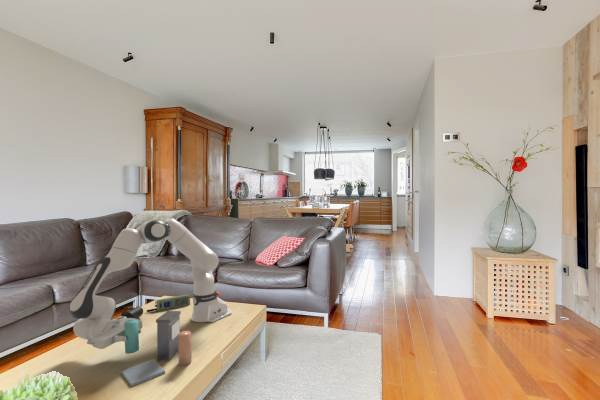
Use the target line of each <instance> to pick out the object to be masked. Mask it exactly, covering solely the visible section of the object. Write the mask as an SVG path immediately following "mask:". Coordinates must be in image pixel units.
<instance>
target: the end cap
mask: <svg viewBox="0 0 600 400" xmlns="http://www.w3.org/2000/svg"><path fill="white" fill-rule="evenodd" d="M143 314H144V309H143V307H141V306H140V305H137V306H136V307H129V308H128V309H127V310H124V311H122V312H121V314H120V317H127V318H134V319H139V318H141V317H142V316H143Z"/></svg>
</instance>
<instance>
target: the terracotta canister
mask: <svg viewBox="0 0 600 400" xmlns="http://www.w3.org/2000/svg"><path fill="white" fill-rule="evenodd" d="M177 353H178V365H179V366H189V364H191V363H192V331H191V330H183V331H180V333H179V334H178V352H177Z"/></svg>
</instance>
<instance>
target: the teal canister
mask: <svg viewBox="0 0 600 400" xmlns="http://www.w3.org/2000/svg"><path fill="white" fill-rule="evenodd" d="M124 329H125V335H126V336H128V340H127V341H125V342H124V351H125V352H124V353H125V354H127V355H131V354H134V353H137V352H138V351H139V350H140V344H139V343H140V341H139V339H140V336H139V334H140V333H139V332H138V320H137V319H132V320H128V321H126V322H125V323H124Z"/></svg>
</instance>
